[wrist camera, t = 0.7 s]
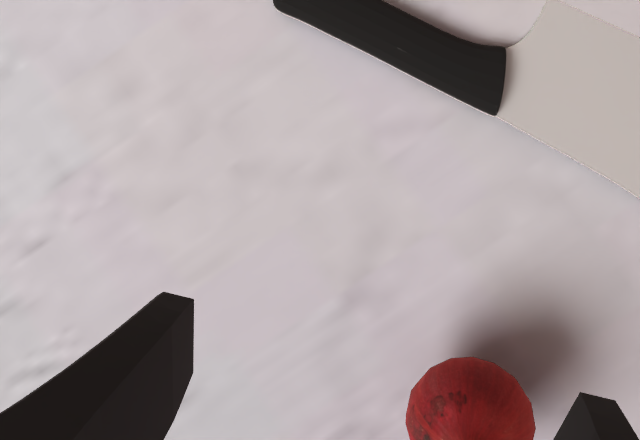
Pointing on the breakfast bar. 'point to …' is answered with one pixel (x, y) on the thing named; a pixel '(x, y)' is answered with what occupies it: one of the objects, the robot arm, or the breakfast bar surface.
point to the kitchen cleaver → (514, 74)
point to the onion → (469, 404)
